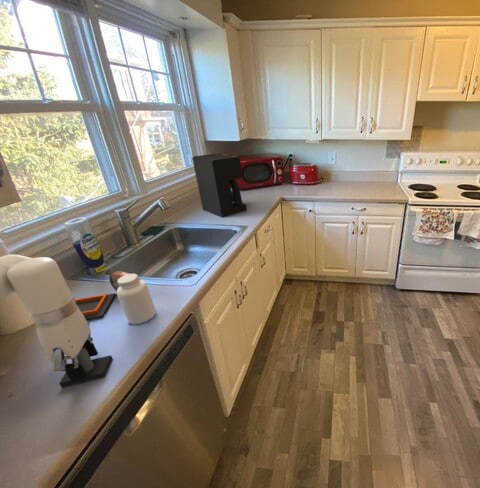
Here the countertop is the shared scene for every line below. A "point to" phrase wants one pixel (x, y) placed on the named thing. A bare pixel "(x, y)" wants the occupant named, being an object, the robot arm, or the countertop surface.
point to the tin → (116, 278)
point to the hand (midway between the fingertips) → (85, 366)
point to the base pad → (95, 306)
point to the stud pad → (91, 374)
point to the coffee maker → (219, 183)
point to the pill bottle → (135, 299)
